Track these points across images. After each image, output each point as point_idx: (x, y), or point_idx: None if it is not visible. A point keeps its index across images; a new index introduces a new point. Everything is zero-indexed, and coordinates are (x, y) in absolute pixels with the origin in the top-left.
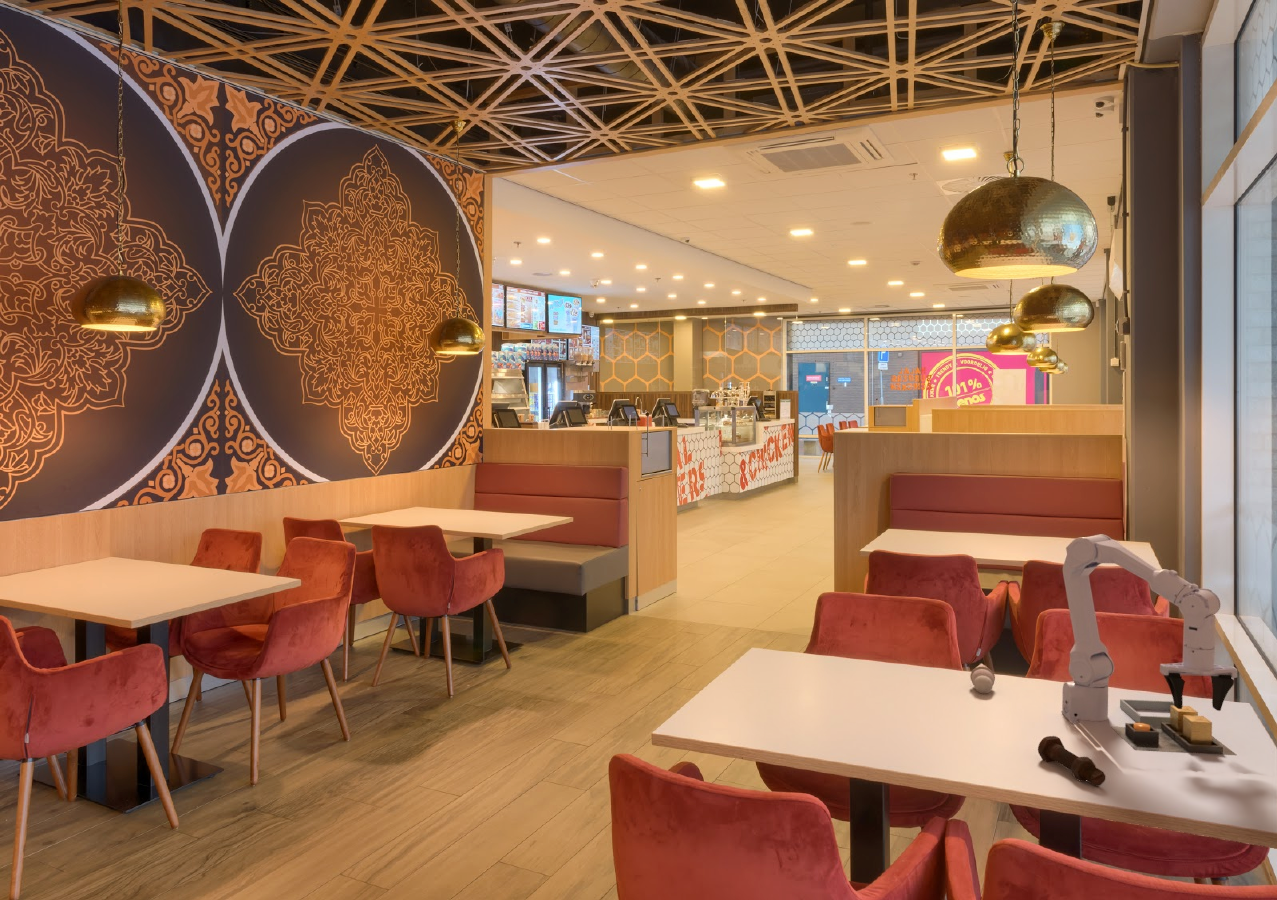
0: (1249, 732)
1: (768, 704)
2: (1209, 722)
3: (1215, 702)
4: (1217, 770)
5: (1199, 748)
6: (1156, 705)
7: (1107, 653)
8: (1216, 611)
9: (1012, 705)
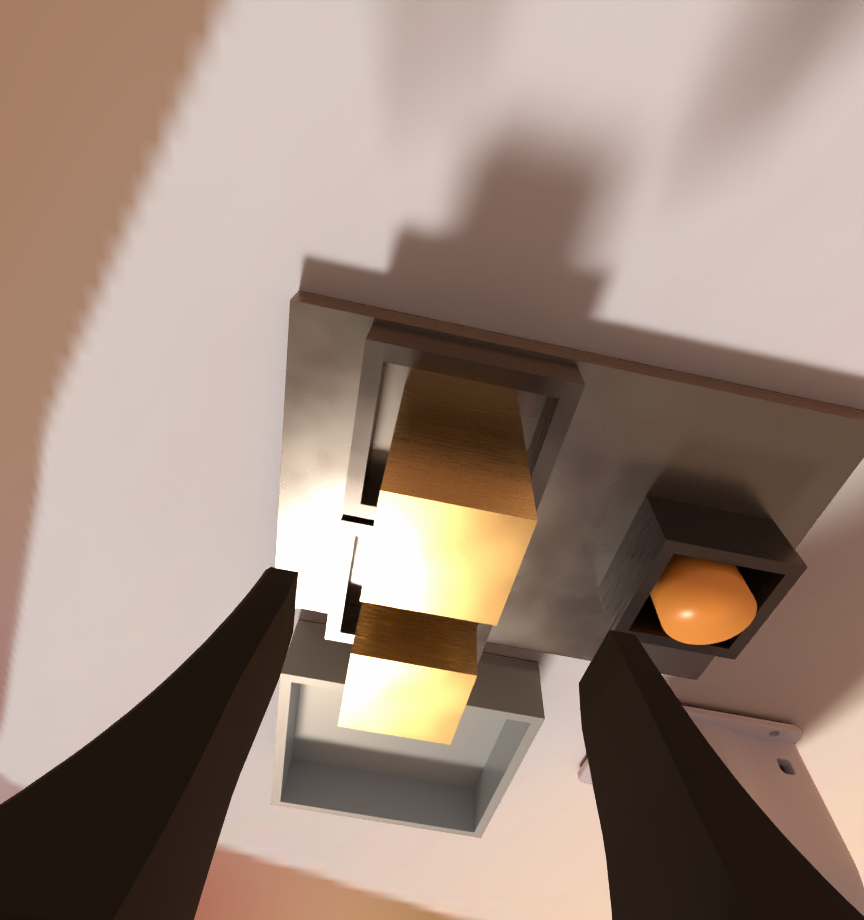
0: (58, 590)
1: None
2: (399, 493)
3: (275, 654)
4: (557, 107)
5: (515, 362)
6: (345, 791)
7: None
8: None
9: None
